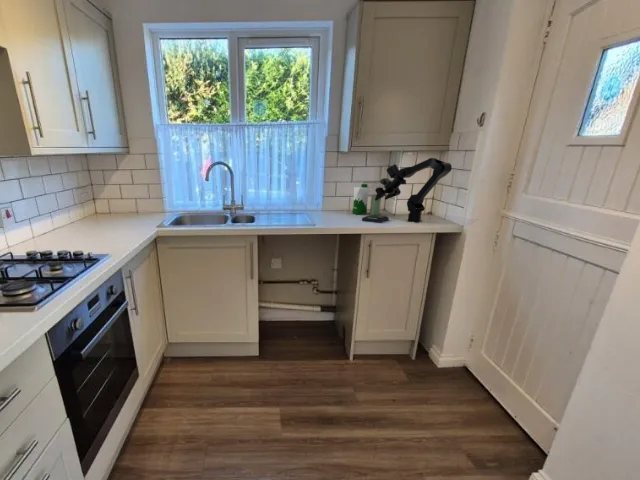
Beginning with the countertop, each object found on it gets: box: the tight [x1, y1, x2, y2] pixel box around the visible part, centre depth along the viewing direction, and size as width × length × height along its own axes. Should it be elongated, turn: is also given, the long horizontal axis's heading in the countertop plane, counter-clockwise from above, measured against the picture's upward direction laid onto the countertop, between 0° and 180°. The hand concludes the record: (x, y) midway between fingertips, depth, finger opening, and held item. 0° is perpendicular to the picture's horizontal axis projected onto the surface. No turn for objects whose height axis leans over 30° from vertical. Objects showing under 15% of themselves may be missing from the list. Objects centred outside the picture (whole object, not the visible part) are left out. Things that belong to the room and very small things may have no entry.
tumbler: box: [369, 194, 382, 215], centre depth 248 cm, size 6×6×13 cm
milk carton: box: [352, 183, 370, 216], centre depth 251 cm, size 9×9×20 cm
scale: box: [361, 214, 390, 224], centre depth 228 cm, size 12×12×3 cm
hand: (380, 199), depth 244 cm, fingers open, 9 cm apart
